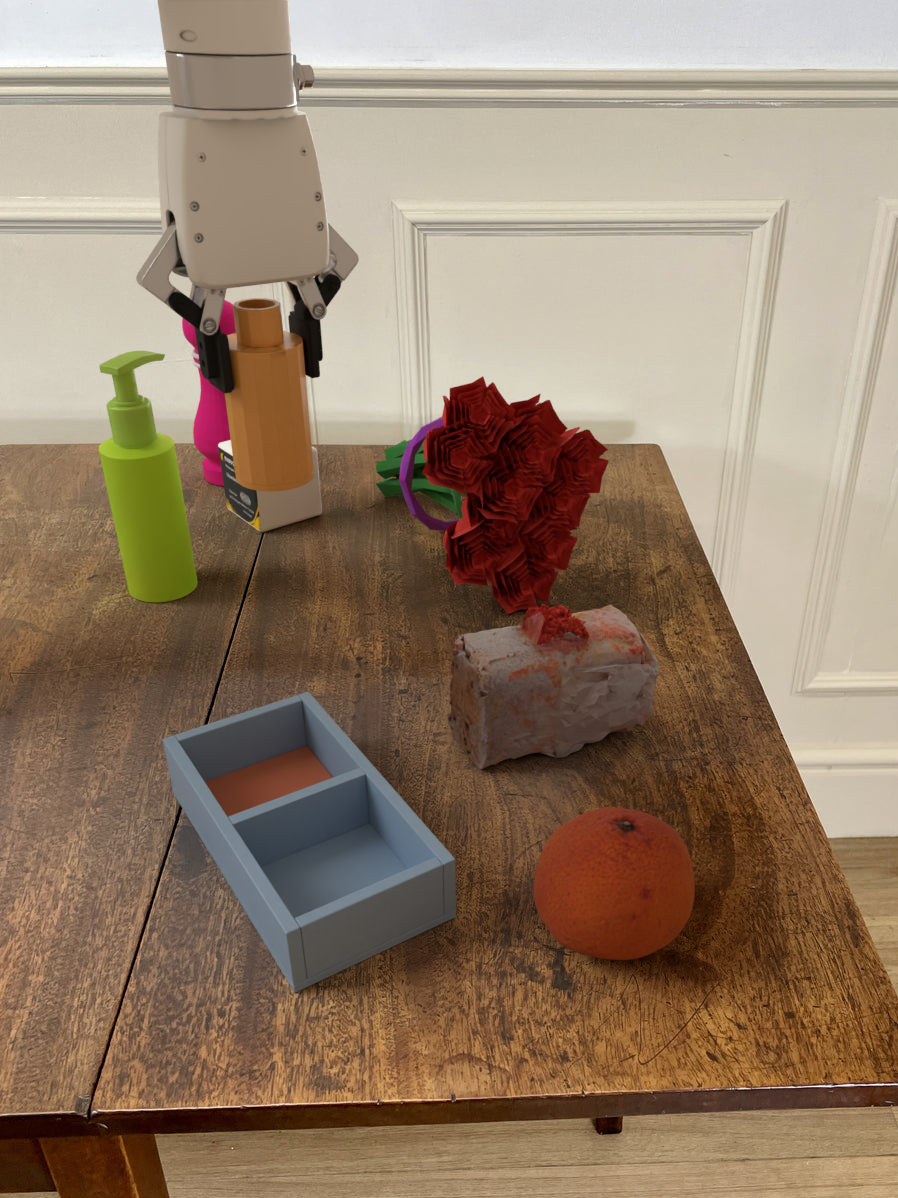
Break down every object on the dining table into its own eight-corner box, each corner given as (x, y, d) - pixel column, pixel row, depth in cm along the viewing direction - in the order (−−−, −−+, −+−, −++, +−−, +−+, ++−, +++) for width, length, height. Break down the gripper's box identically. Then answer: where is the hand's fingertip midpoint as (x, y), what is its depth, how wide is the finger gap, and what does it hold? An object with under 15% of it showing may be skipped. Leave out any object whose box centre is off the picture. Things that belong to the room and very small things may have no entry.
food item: (605, 683, 81) (615, 570, 75) (658, 740, 75) (674, 622, 69) (441, 723, 76) (439, 606, 70) (484, 788, 70) (485, 665, 64)
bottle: (254, 497, 74) (233, 319, 67) (224, 471, 78) (200, 299, 71) (326, 481, 77) (313, 308, 70) (294, 456, 81) (278, 289, 74)
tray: (294, 993, 55) (286, 933, 53) (173, 794, 69) (161, 738, 66) (456, 917, 60) (455, 858, 58) (314, 744, 73) (308, 690, 71)
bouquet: (465, 529, 117) (623, 589, 92) (328, 561, 110) (460, 636, 85) (445, 347, 109) (612, 360, 85) (296, 368, 102) (432, 390, 78)
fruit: (670, 870, 64) (685, 768, 59) (698, 986, 56) (718, 879, 52) (526, 872, 63) (530, 770, 59) (535, 990, 56) (541, 882, 51)
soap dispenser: (218, 574, 94) (184, 351, 83) (167, 608, 89) (123, 375, 77) (167, 560, 96) (126, 341, 84) (114, 593, 90) (63, 364, 79)
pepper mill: (185, 478, 111) (153, 284, 100) (235, 457, 116) (209, 270, 105) (233, 494, 108) (205, 295, 97) (282, 472, 113) (261, 281, 102)
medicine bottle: (225, 509, 105) (209, 393, 98) (288, 492, 109) (275, 378, 102) (260, 534, 101) (245, 414, 94) (323, 515, 105) (313, 398, 98)
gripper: (332, 79, 70) (349, 349, 80) (71, 85, 62) (126, 385, 72) (386, 89, 65) (397, 375, 75) (110, 97, 57) (163, 417, 67)
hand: (264, 377), depth 73 cm, fingers closed on bottle, 5 cm apart
